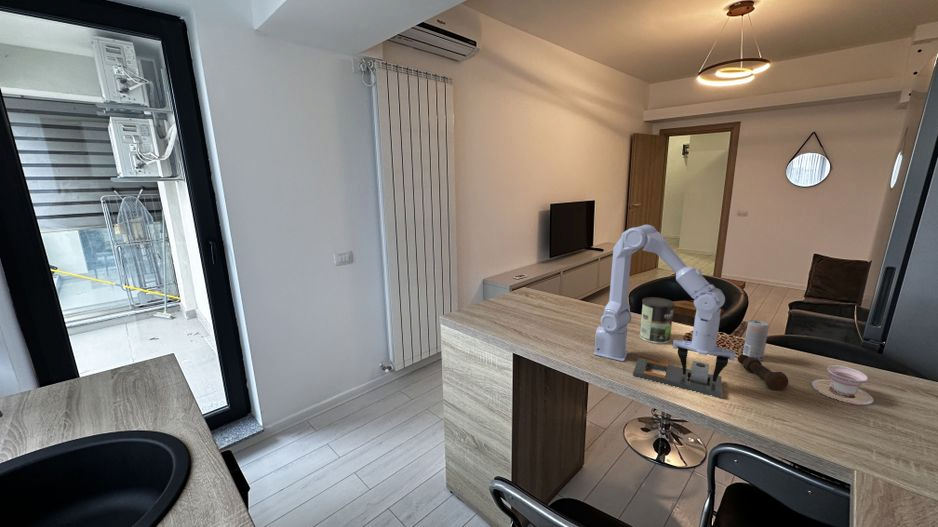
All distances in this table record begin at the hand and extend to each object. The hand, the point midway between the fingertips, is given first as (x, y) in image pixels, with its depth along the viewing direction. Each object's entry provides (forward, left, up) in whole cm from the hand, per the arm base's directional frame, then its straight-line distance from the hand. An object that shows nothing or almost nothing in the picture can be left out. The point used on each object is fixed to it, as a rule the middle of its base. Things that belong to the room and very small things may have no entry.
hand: (699, 376), depth 106 cm
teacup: (+33, +15, -3) cm, 37 cm away
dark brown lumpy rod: (+15, +14, -3) cm, 21 cm away
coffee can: (-15, +28, -3) cm, 31 cm away
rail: (-6, 0, -2) cm, 6 cm away
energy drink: (+14, +28, -3) cm, 31 cm away
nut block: (0, 0, -2) cm, 2 cm away
